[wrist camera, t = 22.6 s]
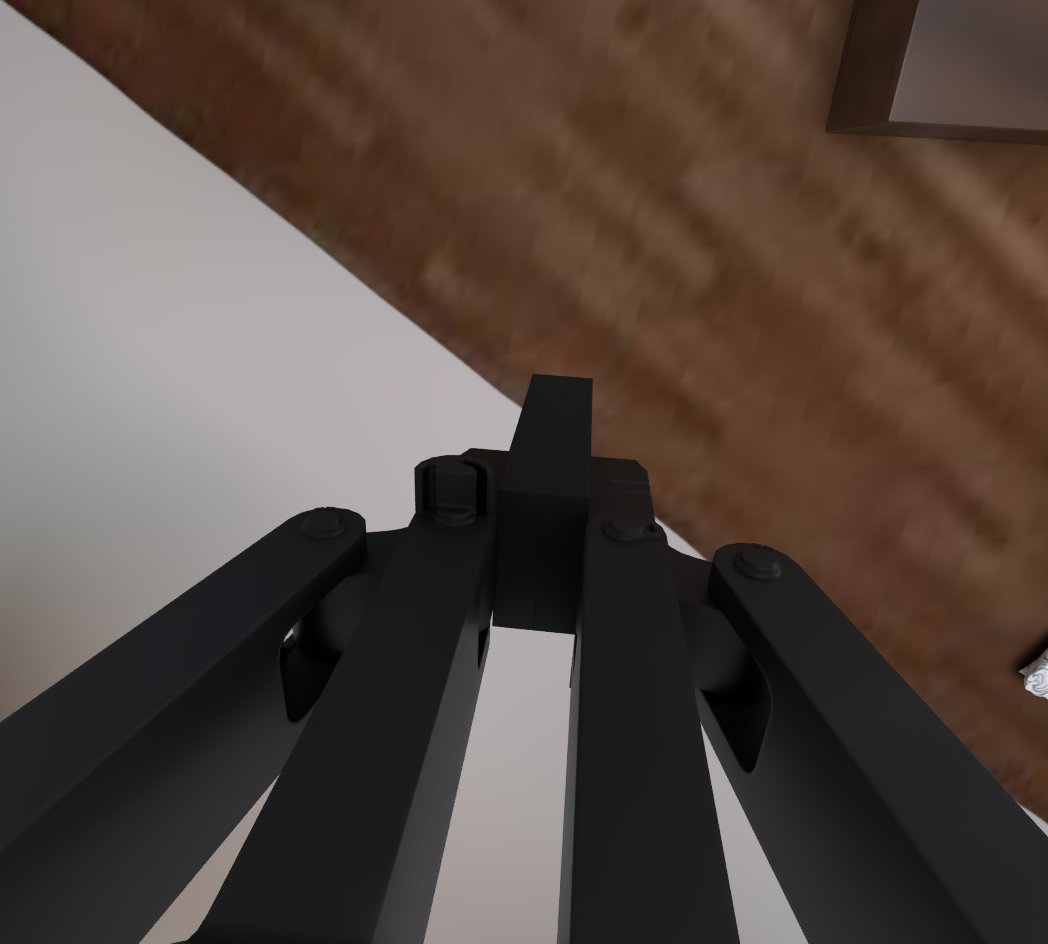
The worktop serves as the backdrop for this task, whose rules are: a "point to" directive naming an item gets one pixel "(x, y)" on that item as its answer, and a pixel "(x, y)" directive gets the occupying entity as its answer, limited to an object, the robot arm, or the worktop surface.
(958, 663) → the worktop surface
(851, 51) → the chest
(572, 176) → the worktop surface
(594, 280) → the worktop surface
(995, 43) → the lid
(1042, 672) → the cookie jar
